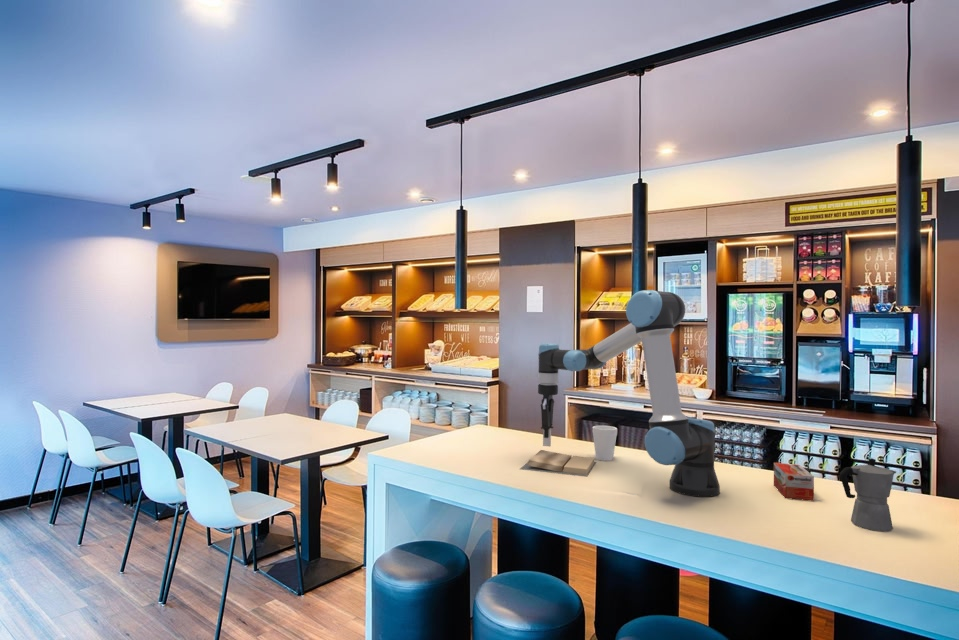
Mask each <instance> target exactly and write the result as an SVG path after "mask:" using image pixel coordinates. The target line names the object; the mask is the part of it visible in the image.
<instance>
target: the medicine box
mask: <svg viewBox="0 0 959 640" xmlns="http://www.w3.org/2000/svg"><path fill="white" fill-rule="evenodd" d="M814 480H815V476H814V475H813V474H811V472H809V471H808V470H807V469H805V468H804V467H803V466H801V464H793V463H784V462H773V487H774V486H775V487H776V488H777V489H778V490H777V489H776V488H775V487H774V488H775V489H776V490H777V491H778V492H779V493H780V494H781V496H782V495H783V496H784V497H785V498H792V499H791V500H801V499H803V500H802V501H808V500H811V502H814V501H815V496H814V495H815V481H814ZM783 496H782V497H783ZM784 497H783V498H784ZM785 498H784V499H785Z"/></svg>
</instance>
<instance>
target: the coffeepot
mask: <svg viewBox="0 0 959 640" xmlns="http://www.w3.org/2000/svg"><path fill="white" fill-rule="evenodd" d="M867 459H868V464H858V465H853V466H847V467H844V468H843V469H842V470H841V471H840V473H839V477H840V480H841V484H842V487H843V489H844V493H845V496H846V498H849V499H854V498H855V497H856V498H855V500H854V504H853V509H852V514H851V518H850V522H851V523H852V524H853V525H854V526H856V527H858V528H861V529H865V530H867V531H873V532H881V533H884V532H886V533H887V532H890V531H893V530H894V526H893V522H892V520H893V519H892V517H891V516H892V515H891V510H890V505H889V504H888V498H890V497H891V491H892V485H893V481H894V475H895V474H896V473H897V471H896V470H893V469H889V468H885V467H882V466H878V465H876V461H877V460H876V458H873V457H871V458H867ZM848 475H852V481H853V485H854V491H855V492H856V495H855V494H852V493H851V487H850V485H849V479H848Z"/></svg>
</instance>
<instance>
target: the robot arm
mask: <svg viewBox="0 0 959 640" xmlns="http://www.w3.org/2000/svg"><path fill="white" fill-rule="evenodd" d="M625 315H626V318H627V320H628V322H629V323H628V324H627V325H626V326H624V327H622V328H620V329H619V330H617V331H616V332H614V333H613V334H611V335H609V336H608V337H606V338H604V339H602V340H601V341H599V342H598V343H596V344H594V345H593V346H591V347H589V348H587V349H560V345H559V344H558V343H546V342H545V343H541V344H540V345H539V347H538V354H537V355H538V372H537V373H538V374H537V375H536V377H537V378H538V380H537V382H538V383H539V384H538V385H537V393H538V395H542V399H541V403H540V410H541V411H540V413H541V415H540V416H541V427H540V429H541V430H542V447H549V448H550V447H551V446H552V445H551V444H552V443H551V442H552V429H554V426H553V423H554V421H553V419H554V406H555V400H554V398H553V397H554V396H556V395H558V394H559V393H558V392H559V385H558V383H559V370H562V371H569V372H581V371H582V370H583V371H584V370H597V369H603V368H604V367H605V365H606V363H607V362H609V361H610V360H612V359H613V358H615V357H617V356H618V355H621V354H623V353H624V352H626V351H628V350H629V349H632V348H633V347H635V346H637V345H638V344H640V343H642V348H643V349H642V350H643V357H644V363H645V364H644V365H645V370H646V376H647V383H648V389H649V397H650V404H651V411H652V416H651V417H650V418H649V420H648V425H649V430H648V431H647V433H646V434H645V436H644V447H645V450H646V452H647V454H648V456H649V457H650V458H651V459H652V460H653V461H654V462H656V463H658V464H660V465H663V466H674V468H673V470H672V473H671V475H670V477H669V478H670V479H669V489H670V490H672V491H674V492H675V493H679V494H681V495H686V496H693V497H702V498H703V497H705V498H708V497H715V496H718V495H720V493H721V492H720V491H721V489H720V488H721V487H720V483H719V480H718V476H717V473H716V470H715V443H716V441H715V438H716V437H715V436H716V432H715V423H714V422H713V421H711V420H707V419H701V418H694V417H688V416H686V415H685V414H684V413H683V412H682V406H681V399H680V397H681V396H680V393H679V386H678V380H677V379H678V378H677V373H676V366H675V360H674V354H673V346H672V339H671V335H672V334H673V333H674V331H675V327H677V326H678V325H679V324H680V323H681V322H682V321H683V320H684V317H685V316H686V305H685V302H684V301H683V298H681V296H679V295H678V294H676V293H674V292H670V291H661V290H654V289H646V290H645V289H644V290H639V291H637V292H635V293H634V294H632V296H631V297H630V299H629V300H628V302H627V305H626V307H625Z"/></svg>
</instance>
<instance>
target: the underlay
mask: <svg viewBox="0 0 959 640" xmlns="http://www.w3.org/2000/svg"><path fill="white" fill-rule="evenodd" d="M595 459H596V457H591V456H581V455H572V457H571V459H570V460H569V461H568V463H567V464H566V465H565V466H564V469H563V471H562V472H558V471H553V470H548V469H543V468H538V467H533V466H529V460H528V461H527V462H526V463H525V464H523V466H522V467H520V468H519V470H524V471H530V472H540V473H551V474H559V475H569V476H576V477H577V476H578V477H589V476H590V474H591V472H592V470H593V469H594V466H596V464H597V462H596V461H595Z"/></svg>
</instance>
